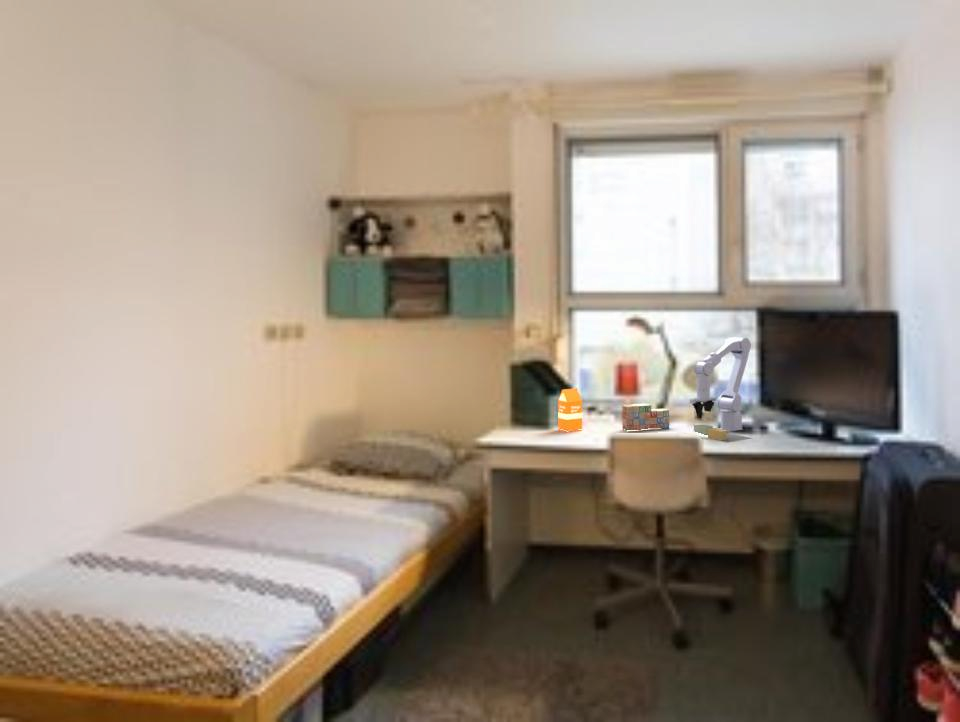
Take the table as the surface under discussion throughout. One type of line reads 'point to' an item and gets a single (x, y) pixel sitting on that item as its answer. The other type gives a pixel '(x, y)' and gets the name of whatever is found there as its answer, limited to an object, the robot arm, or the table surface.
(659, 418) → the stack of blocks
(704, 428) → the sage brick
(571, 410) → the orange juice
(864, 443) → the table surface
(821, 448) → the table surface
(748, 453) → the table surface
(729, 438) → the desk mat
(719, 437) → the ochre brick
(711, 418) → the birch brick
